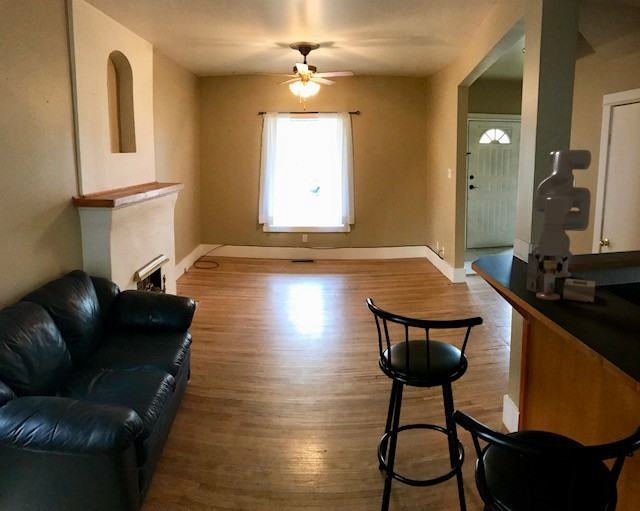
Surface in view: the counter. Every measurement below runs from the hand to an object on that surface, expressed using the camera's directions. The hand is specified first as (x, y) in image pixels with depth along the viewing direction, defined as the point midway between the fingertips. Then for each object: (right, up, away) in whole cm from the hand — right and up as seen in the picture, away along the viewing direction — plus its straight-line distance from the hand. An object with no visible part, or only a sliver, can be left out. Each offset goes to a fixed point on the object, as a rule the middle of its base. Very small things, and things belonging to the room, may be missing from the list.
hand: (550, 271), depth 208 cm
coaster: (0, -11, +2) cm, 11 cm away
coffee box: (+1, -9, +14) cm, 16 cm away
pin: (0, -9, +2) cm, 9 cm away
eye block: (+13, -11, +2) cm, 17 cm away
